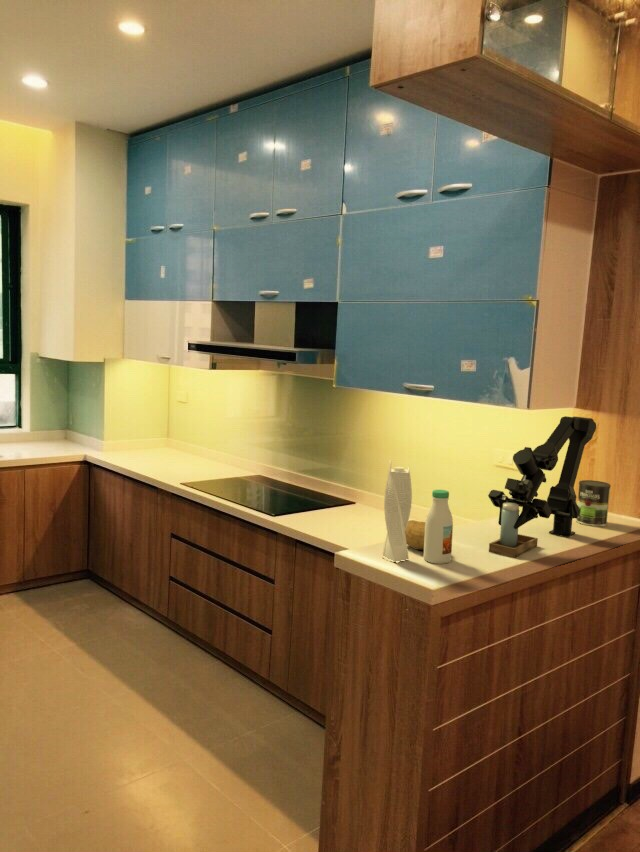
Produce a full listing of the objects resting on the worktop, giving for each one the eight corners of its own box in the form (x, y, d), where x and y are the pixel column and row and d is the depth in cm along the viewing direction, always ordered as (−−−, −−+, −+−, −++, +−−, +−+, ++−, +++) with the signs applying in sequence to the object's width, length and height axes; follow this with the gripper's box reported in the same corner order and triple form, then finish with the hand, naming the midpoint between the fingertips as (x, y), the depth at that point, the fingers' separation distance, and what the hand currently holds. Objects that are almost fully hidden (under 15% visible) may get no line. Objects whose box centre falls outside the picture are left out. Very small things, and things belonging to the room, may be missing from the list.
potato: (414, 540, 222) (415, 514, 221) (446, 552, 211) (448, 525, 210) (390, 544, 217) (391, 518, 216) (422, 557, 205) (423, 530, 204)
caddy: (512, 540, 224) (512, 532, 224) (537, 546, 219) (537, 538, 219) (488, 551, 212) (489, 543, 212) (514, 557, 207) (515, 549, 207)
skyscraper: (375, 558, 203) (379, 460, 199) (393, 553, 208) (398, 458, 204) (395, 565, 197) (400, 465, 193) (414, 560, 202) (418, 462, 198)
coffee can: (601, 528, 243) (604, 487, 241) (571, 522, 250) (574, 482, 248) (611, 522, 251) (615, 483, 249) (582, 517, 257) (585, 478, 256)
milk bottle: (432, 565, 198) (436, 494, 195) (418, 557, 205) (421, 488, 202) (456, 563, 201) (460, 493, 198) (441, 554, 208) (444, 487, 205)
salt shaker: (499, 544, 215) (501, 501, 214) (516, 545, 215) (519, 503, 213) (499, 549, 211) (502, 505, 209) (517, 550, 210) (520, 507, 208)
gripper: (493, 463, 219) (470, 504, 213) (549, 473, 206) (526, 517, 199) (506, 485, 225) (483, 525, 219) (561, 496, 212) (539, 539, 206)
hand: (507, 526), depth 211 cm, fingers closed on salt shaker, 5 cm apart
